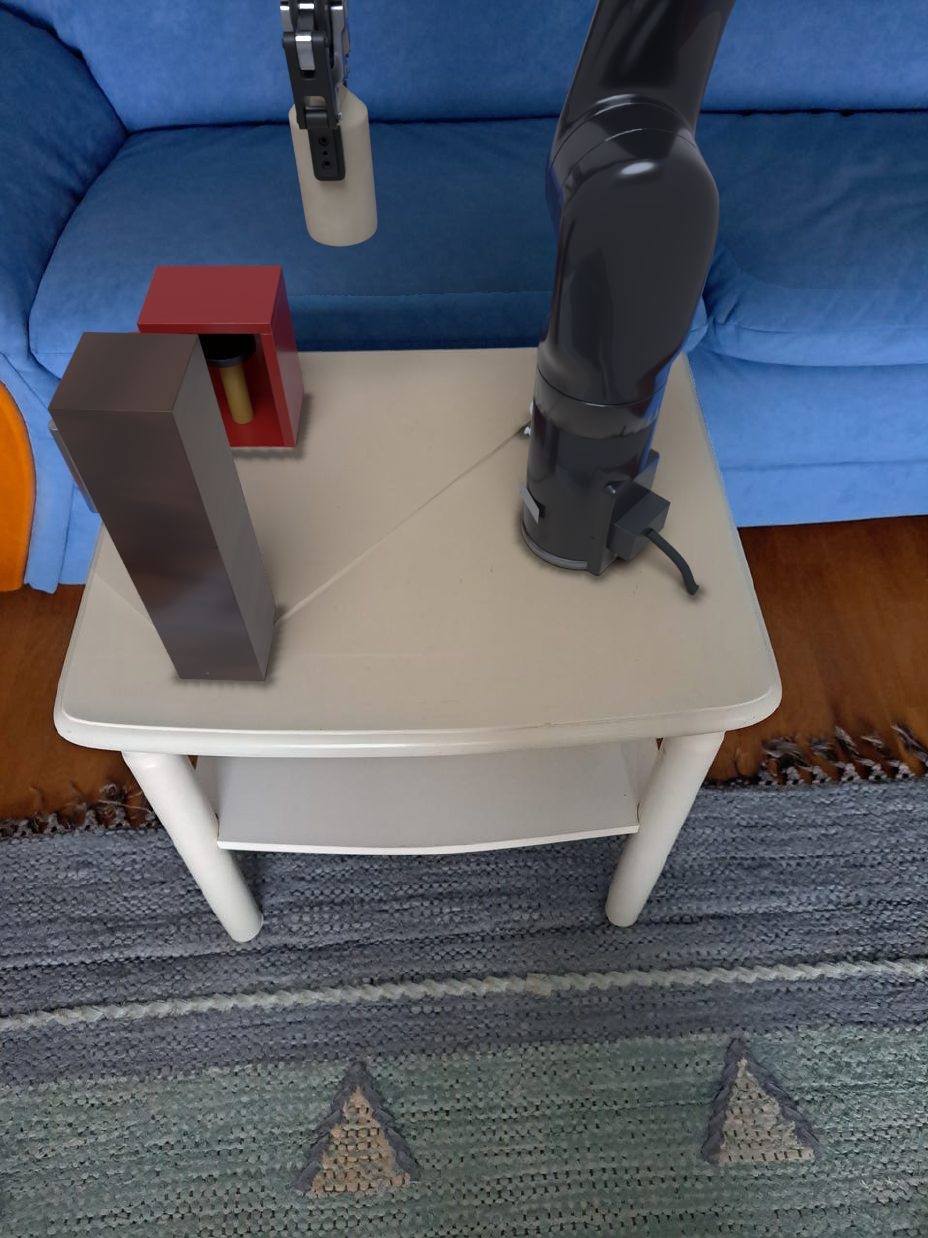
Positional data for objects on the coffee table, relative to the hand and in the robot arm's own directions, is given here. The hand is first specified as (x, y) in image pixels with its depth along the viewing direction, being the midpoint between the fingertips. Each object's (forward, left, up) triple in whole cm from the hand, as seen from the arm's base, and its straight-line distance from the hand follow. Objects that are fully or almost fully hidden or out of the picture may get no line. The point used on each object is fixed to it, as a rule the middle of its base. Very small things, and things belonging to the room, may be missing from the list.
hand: (334, 155), depth 63 cm
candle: (0, 0, -6) cm, 6 cm away
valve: (+7, +9, -23) cm, 26 cm away
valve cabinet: (+7, +9, -24) cm, 27 cm away
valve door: (+5, +21, -24) cm, 32 cm away
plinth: (-11, +26, -24) cm, 37 cm away
